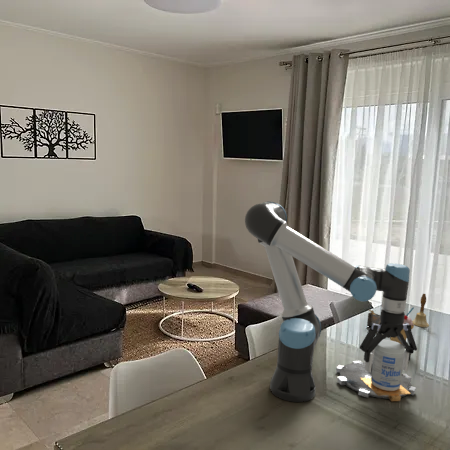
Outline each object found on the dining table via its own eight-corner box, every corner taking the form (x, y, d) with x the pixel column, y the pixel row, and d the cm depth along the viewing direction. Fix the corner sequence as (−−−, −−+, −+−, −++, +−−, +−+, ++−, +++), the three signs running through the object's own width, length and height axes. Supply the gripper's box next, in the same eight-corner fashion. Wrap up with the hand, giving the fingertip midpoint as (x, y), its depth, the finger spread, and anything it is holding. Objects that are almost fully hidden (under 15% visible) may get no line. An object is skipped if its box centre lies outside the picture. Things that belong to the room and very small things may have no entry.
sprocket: (410, 410, 144) (413, 384, 143) (326, 386, 157) (328, 362, 156) (419, 377, 168) (422, 355, 167) (345, 358, 181) (347, 337, 180)
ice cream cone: (408, 347, 198) (414, 303, 195) (412, 357, 187) (417, 310, 185) (382, 343, 201) (387, 299, 198) (384, 352, 190) (389, 306, 188)
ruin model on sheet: (366, 328, 220) (368, 309, 219) (369, 327, 222) (371, 308, 221) (387, 336, 212) (389, 315, 210) (391, 334, 214) (393, 314, 212)
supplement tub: (381, 393, 150) (386, 350, 148) (365, 380, 159) (369, 339, 157) (406, 390, 153) (411, 349, 151) (388, 377, 162) (393, 338, 160)
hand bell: (430, 324, 231) (433, 293, 229) (427, 328, 224) (431, 297, 222) (412, 320, 235) (416, 290, 233) (409, 324, 228) (413, 293, 226)
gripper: (364, 313, 146) (357, 376, 149) (433, 313, 151) (425, 373, 154) (353, 306, 153) (347, 366, 156) (419, 306, 159) (411, 364, 161)
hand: (385, 370), depth 155 cm, fingers open, 13 cm apart
